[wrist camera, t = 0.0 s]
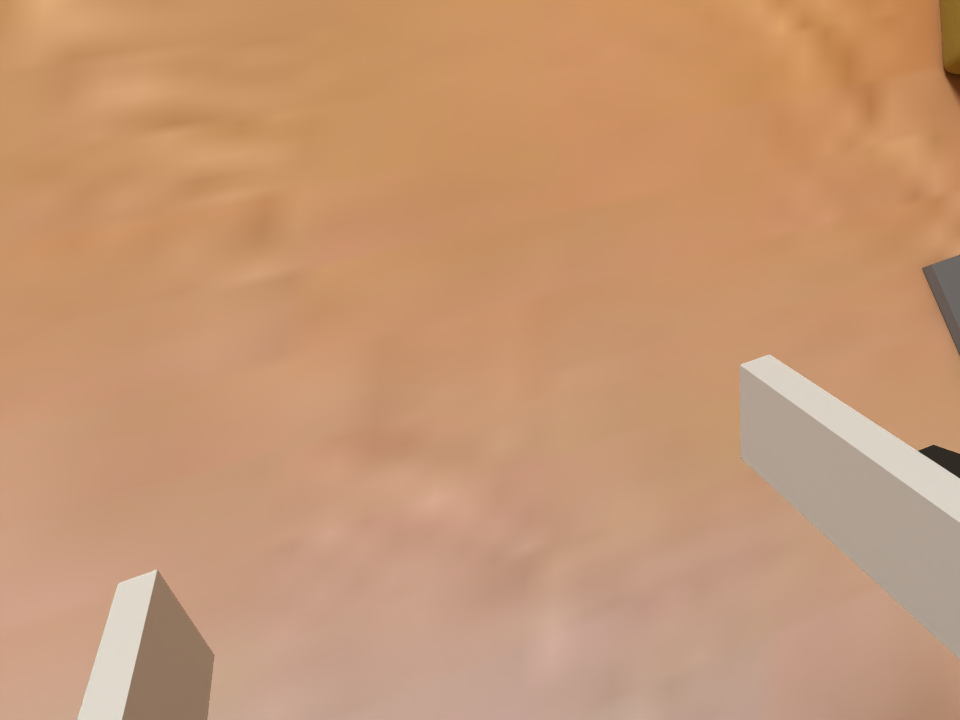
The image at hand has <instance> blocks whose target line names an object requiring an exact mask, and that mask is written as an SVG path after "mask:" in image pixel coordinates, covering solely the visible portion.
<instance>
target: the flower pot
mask: <svg viewBox="0 0 960 720" xmlns="http://www.w3.org/2000/svg"><path fill="white" fill-rule="evenodd" d="M940 13H941V28H942V57H943V66H944V68H945V70H946V71H947V72H949V73H952V74H958V75H960V0H940Z"/></svg>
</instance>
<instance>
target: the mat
mask: <svg viewBox="0 0 960 720" xmlns="http://www.w3.org/2000/svg"><path fill="white" fill-rule="evenodd" d="M922 269H923V271H924V273H925V276H926V278H927V280H928V282H929V285H930V287H931V289H932V292H933V294H934V296H935V299H936V301H937V303H938V306H939V308H940V310H941V312H942V315H943V317H944V319H945V322H946V324H947V326H948V329H949V331H950V333H951V335H952V338H953V340H954V342H955V345H956V347H957V349H958V352H959V354H960V255H958V256H955V257H953V258H950V259H947V260H944V261H941V262H938V263H935V264H932V265H929V266H927V267H924V268H922Z"/></svg>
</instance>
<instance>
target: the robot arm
mask: <svg viewBox="0 0 960 720" xmlns="http://www.w3.org/2000/svg"><path fill="white" fill-rule="evenodd" d="M740 429H741V459H742V460H743V461H744V462H745V463H747V464H748V465H749V466H750V467H751V468H752V469H753V470H754V471H755V472H756V473H757V474H759V475H760V476H761V477H762V478H763V479H764V480H765V481H766V482H767V483H768V484H769V485H770V486H772V487H773V488H774V489H775V490H776V491H777V492H778V493H779V494H780V495H781V496H782V497H784V498H785V499H786V500H787V501H788V502H789V503H790V504H791V505H792V506H793V507H794V508H795V509H797V510H798V511H799V512H800V513H801V514H802V515H803V516H804V517H805V518H806V519H807V520H809V521H810V522H811V523H812V524H813V525H814V526H815V527H816V528H817V529H818V530H819V531H821V532H822V533H823V534H824V535H825V536H826V537H827V538H828V539H829V540H830V541H831V542H832V543H834V544H835V545H836V546H837V547H838V548H839V549H840V550H841V551H842V552H843V553H844V554H846V555H847V556H848V557H849V558H850V559H851V560H852V561H853V562H854V563H855V564H856V565H857V566H859V567H860V568H861V569H862V570H863V571H864V572H865V573H866V574H867V575H868V576H869V577H871V578H872V579H873V580H874V581H875V582H876V583H877V584H878V585H879V586H880V587H881V588H882V589H884V590H885V591H886V592H887V593H888V594H889V595H890V596H891V597H892V598H893V599H894V600H896V601H897V602H898V603H899V604H900V605H901V606H902V607H903V608H904V609H905V610H906V611H908V612H909V613H910V614H911V615H912V616H913V617H914V618H915V619H916V620H917V621H918V622H919V623H921V624H922V625H923V626H924V627H925V628H926V629H927V630H928V631H929V632H930V633H931V634H933V635H934V636H935V637H936V638H937V639H938V640H939V641H940V642H941V643H942V644H943V645H944V646H946V647H947V648H948V649H949V650H950V651H951V652H952V653H953V654H954V655H955V656H956V657H958V658H959V659H960V454H958V453H955V452H953V451H950V450H947V449H944V448H941V447H938V446H935V445H932V446H929V447H927V448H924V449H922V450H919V451H917V450H915V449H914V448H912V447H911V446H909V445H908V444H906V443H904V442H903V441H901V440H900V439H898V438H897V437H895V436H894V435H892V434H891V433H889V432H888V431H886V430H885V429H883V428H881V427H880V426H878V425H877V424H875V423H874V422H872V421H871V420H869V419H868V418H866V417H865V416H863V415H862V414H860V413H859V412H857V411H855V410H854V409H852V408H851V407H849V406H848V405H846V404H845V403H843V402H842V401H840V400H839V399H837V398H836V397H834V396H832V395H831V394H829V393H828V392H826V391H825V390H823V389H822V388H820V387H819V386H817V385H816V384H814V383H813V382H811V381H809V380H808V379H806V378H805V377H803V376H802V375H800V374H799V373H797V372H796V371H794V370H793V369H791V368H790V367H788V366H786V365H785V364H783V363H782V362H780V361H779V360H777V359H776V358H774V357H773V356H771V355H770V354H769V355H766V356H763V357H761V358H758V359H755V360H752V361H749V362H746V363H744V364H741V365H740ZM213 662H214V654H213V652H212V651H211V649H210V648H209V646H208V645H207V643H206V642H205V640H204V639H203V637H202V636H201V634H200V633H199V631H198V630H197V628H196V627H195V625H194V624H193V622H192V621H191V619H190V618H189V616H188V615H187V613H186V612H185V610H184V609H183V607H182V606H181V604H180V603H179V601H178V600H177V598H176V597H175V595H174V594H173V592H172V591H171V589H170V588H169V586H168V585H167V583H166V582H165V580H164V579H163V577H162V576H161V574H160V573H159V571H158V570H154V571H152V572H149V573H146V574H143V575H140V576H137V577H134V578H132V579H129V580H126V581H123V582H120V583H118V586H117V589H116V593H115V596H114V599H113V603H112V606H111V609H110V613H109V616H108V619H107V623H106V626H105V629H104V633H103V636H102V639H101V643H100V646H99V649H98V653H97V656H96V659H95V662H94V666H93V669H92V672H91V676H90V679H89V682H88V686H87V689H86V692H85V696H84V699H83V702H82V706H81V709H80V712H79V716H78V719H77V720H207V717H208V708H209V699H210V689H211V680H212V671H213Z"/></svg>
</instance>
